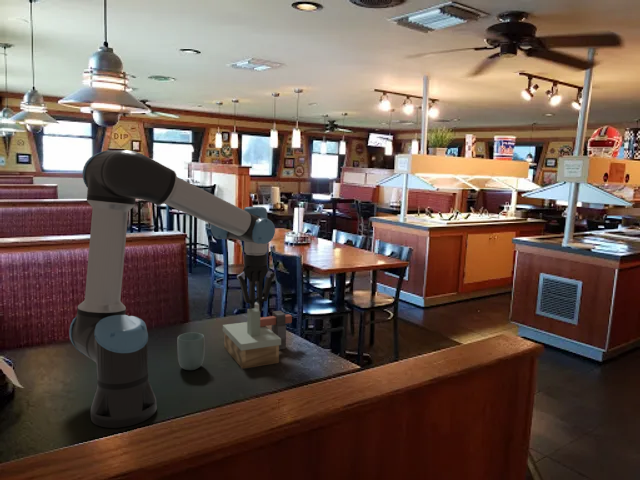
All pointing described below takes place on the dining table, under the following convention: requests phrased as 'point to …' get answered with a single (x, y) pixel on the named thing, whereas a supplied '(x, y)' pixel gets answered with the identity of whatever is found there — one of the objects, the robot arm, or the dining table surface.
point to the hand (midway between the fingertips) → (255, 322)
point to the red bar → (273, 320)
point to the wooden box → (260, 354)
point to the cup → (190, 350)
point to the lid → (251, 333)
